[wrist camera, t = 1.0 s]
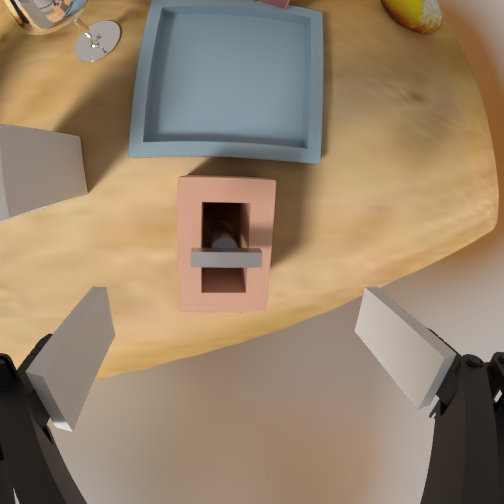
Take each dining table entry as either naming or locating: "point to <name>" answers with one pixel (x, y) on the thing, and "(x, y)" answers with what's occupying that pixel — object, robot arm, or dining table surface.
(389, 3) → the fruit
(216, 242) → the grey t-shaped piece
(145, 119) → the tray
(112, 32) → the wineglass
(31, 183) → the milk carton
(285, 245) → the dining table surface
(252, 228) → the pink window frame
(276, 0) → the book
